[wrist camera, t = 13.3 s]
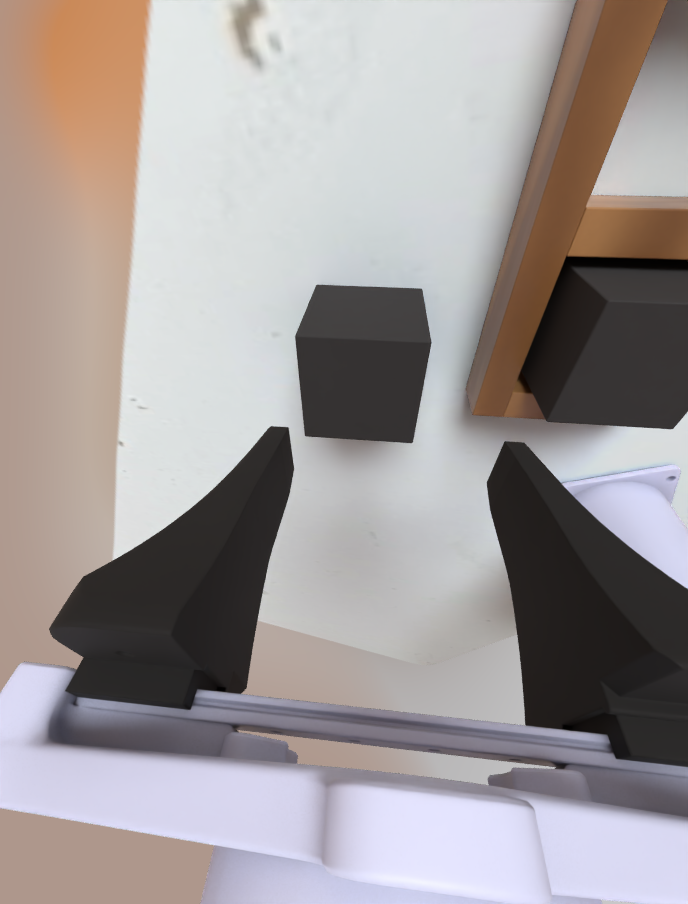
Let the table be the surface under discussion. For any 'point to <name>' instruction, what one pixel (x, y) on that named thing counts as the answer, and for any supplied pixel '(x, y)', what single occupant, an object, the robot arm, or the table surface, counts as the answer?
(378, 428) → the black block
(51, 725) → the robot arm
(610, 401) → the dark grey block
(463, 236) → the table surface
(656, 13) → the wooden frame
